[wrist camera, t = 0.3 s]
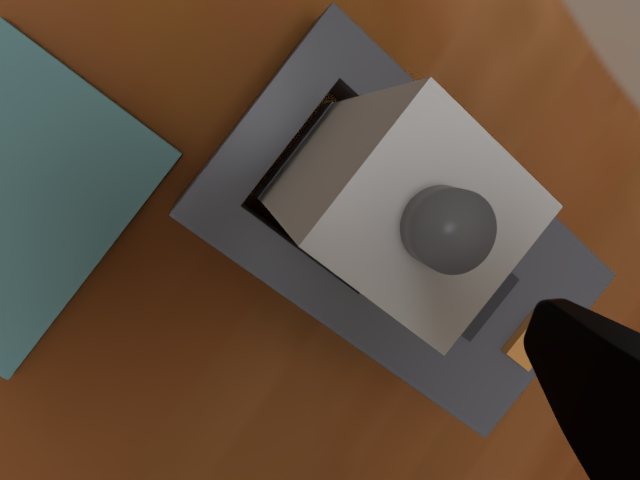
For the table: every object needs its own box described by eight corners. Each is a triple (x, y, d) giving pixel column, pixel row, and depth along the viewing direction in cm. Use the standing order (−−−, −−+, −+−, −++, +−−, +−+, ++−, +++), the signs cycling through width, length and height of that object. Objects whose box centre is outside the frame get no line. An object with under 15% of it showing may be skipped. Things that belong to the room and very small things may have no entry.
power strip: (455, 405, 27) (490, 444, 23) (173, 204, 21) (167, 217, 18) (571, 260, 26) (623, 277, 23) (316, 20, 21) (336, -2, 18)
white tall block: (338, 259, 24) (463, 375, 12) (253, 194, 22) (303, 257, 11) (404, 174, 23) (594, 211, 12) (323, 103, 22) (451, 67, 10)
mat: (13, 373, 21) (8, 380, 21) (-183, 269, 19) (-195, 273, 18) (182, 153, 21) (181, 154, 20) (4, 19, 19) (-2, 15, 18)
